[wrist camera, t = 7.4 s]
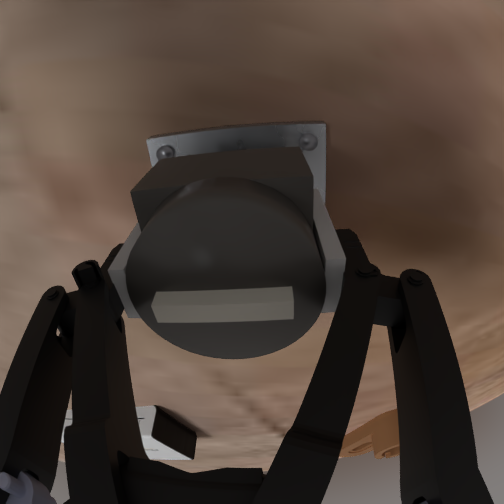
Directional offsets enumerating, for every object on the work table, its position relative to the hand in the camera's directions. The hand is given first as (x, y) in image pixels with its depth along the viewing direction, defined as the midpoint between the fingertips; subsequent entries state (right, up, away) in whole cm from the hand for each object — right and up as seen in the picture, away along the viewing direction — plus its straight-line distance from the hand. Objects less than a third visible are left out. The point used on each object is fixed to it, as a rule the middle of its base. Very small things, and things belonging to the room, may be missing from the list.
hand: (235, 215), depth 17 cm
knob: (0, 0, 0) cm, 0 cm away
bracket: (+24, -35, +31) cm, 53 cm away
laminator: (-26, -36, +33) cm, 55 cm away
